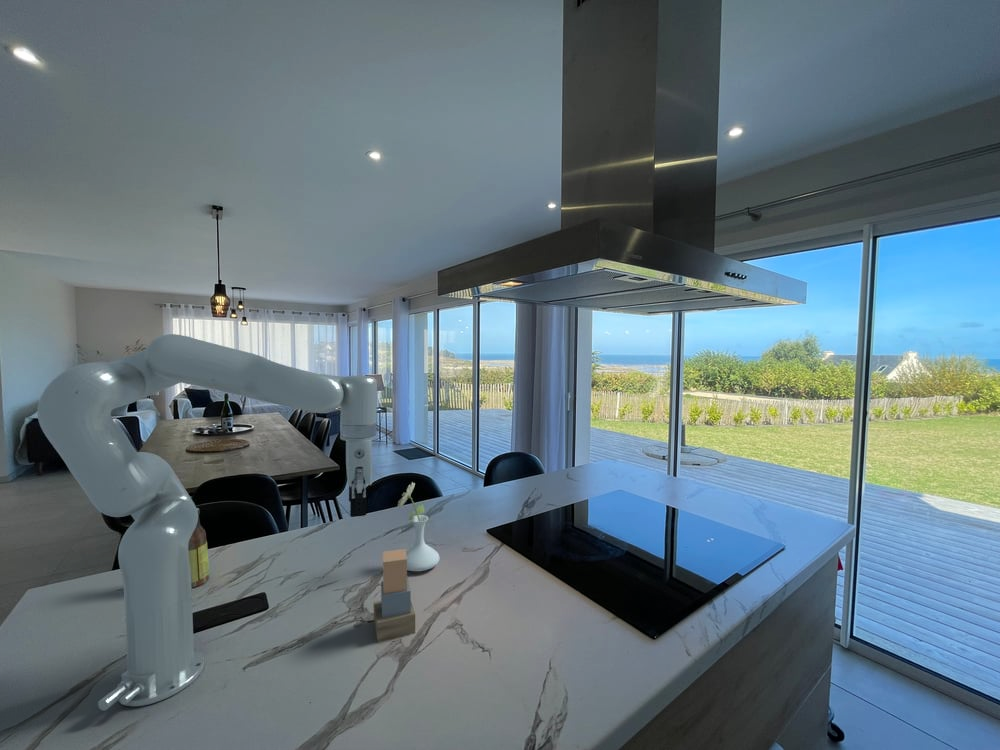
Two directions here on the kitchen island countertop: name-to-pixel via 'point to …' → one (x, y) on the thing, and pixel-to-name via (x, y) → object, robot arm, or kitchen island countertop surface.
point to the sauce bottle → (198, 556)
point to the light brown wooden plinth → (392, 624)
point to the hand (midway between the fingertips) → (357, 507)
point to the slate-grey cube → (396, 602)
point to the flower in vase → (419, 539)
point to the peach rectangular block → (394, 571)
